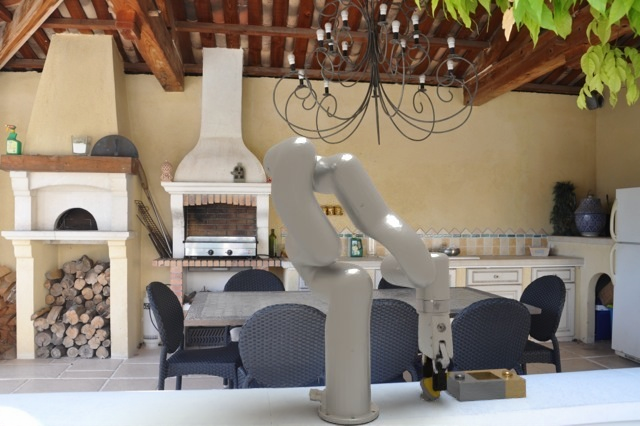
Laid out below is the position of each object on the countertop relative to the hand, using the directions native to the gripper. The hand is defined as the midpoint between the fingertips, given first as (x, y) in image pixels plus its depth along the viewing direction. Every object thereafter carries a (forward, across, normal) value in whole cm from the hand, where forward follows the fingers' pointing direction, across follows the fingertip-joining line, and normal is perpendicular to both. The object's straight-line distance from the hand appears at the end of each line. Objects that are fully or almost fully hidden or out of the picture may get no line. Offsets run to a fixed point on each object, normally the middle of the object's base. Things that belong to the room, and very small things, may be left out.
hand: (434, 385), depth 115 cm
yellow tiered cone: (+3, 0, 0) cm, 3 cm away
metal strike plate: (+3, +2, -13) cm, 13 cm away
